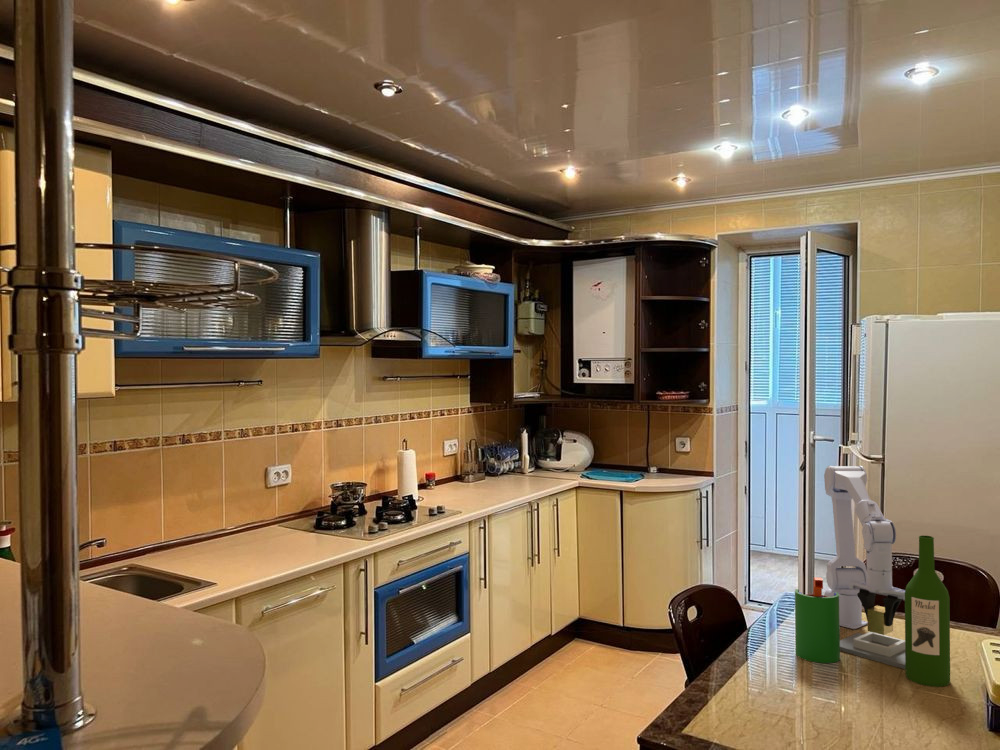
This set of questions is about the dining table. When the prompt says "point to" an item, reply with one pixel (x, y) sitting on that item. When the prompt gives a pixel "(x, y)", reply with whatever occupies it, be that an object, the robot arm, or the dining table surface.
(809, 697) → the dining table surface
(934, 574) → the wine bottle
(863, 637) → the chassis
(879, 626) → the tan rectangular block
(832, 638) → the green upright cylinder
